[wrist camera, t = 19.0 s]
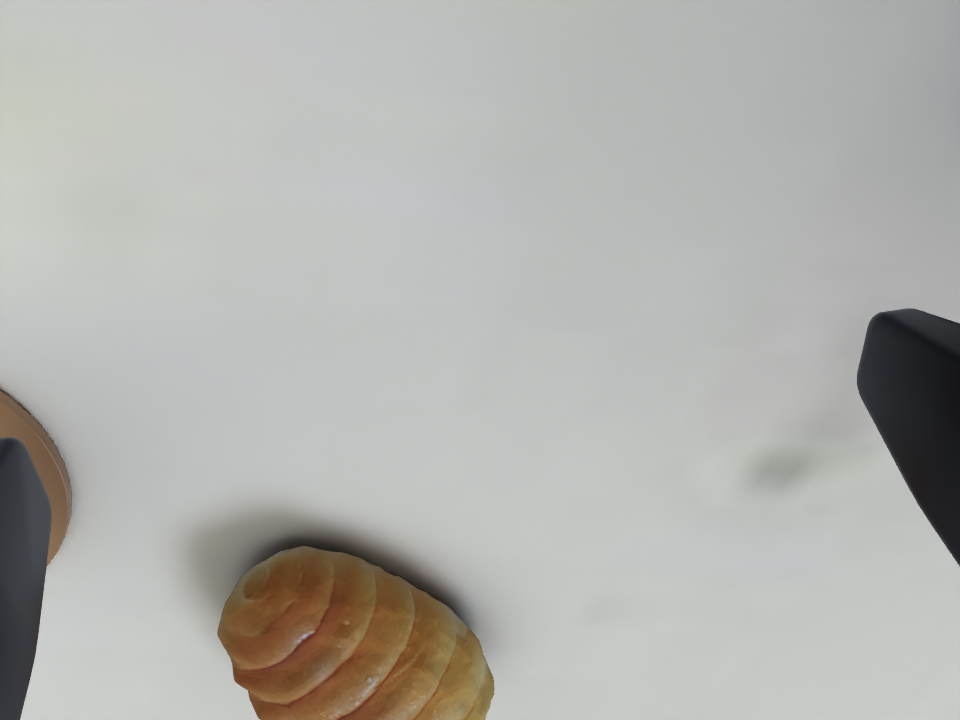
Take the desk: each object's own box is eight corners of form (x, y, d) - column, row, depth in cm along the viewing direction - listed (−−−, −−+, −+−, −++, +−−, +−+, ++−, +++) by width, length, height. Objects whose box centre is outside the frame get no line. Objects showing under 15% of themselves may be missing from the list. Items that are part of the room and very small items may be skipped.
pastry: (163, 604, 26) (146, 714, 23) (341, 491, 25) (348, 591, 22) (352, 733, 32) (359, 837, 28) (508, 644, 30) (533, 743, 27)
